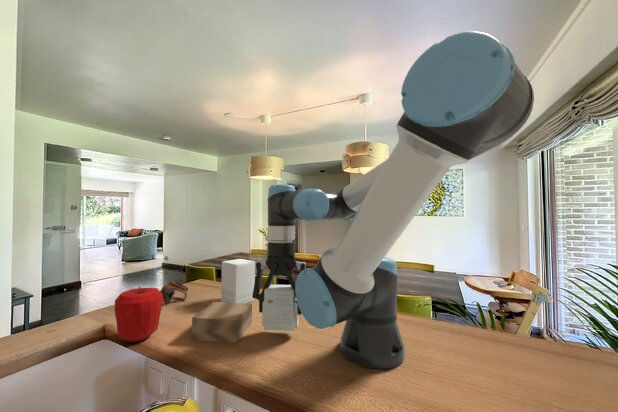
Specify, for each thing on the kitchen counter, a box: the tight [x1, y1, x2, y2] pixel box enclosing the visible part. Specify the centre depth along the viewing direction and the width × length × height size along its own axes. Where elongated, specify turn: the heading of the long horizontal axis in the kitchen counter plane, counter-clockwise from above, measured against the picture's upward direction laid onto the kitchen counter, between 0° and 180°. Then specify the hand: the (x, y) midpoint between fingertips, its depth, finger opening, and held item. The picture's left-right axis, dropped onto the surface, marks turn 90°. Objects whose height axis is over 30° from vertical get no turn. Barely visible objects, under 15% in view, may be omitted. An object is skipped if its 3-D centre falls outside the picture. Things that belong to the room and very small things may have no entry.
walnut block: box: [191, 301, 253, 344], centre depth 72 cm, size 12×12×6 cm
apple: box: [114, 285, 164, 343], centre depth 67 cm, size 10×10×14 cm
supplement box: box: [220, 258, 256, 304], centre depth 95 cm, size 9×9×15 cm
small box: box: [263, 284, 296, 331], centre depth 70 cm, size 8×6×10 cm
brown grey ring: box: [159, 280, 189, 304], centre depth 94 cm, size 12×10×8 cm
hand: (280, 324), depth 70 cm, fingers closed on small box, 8 cm apart
